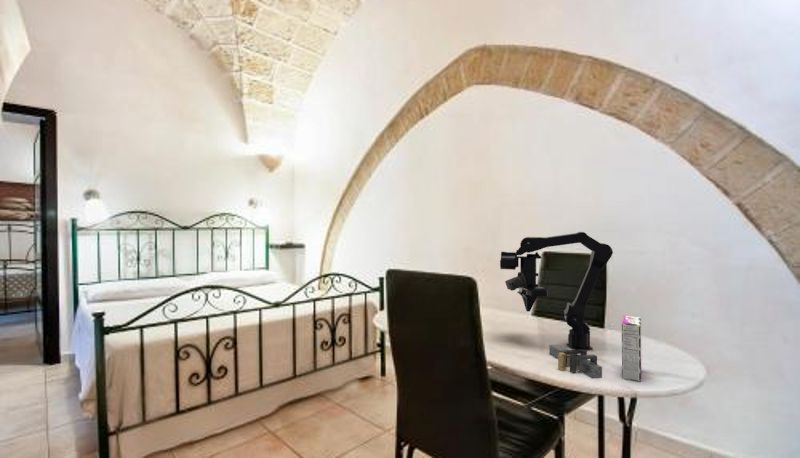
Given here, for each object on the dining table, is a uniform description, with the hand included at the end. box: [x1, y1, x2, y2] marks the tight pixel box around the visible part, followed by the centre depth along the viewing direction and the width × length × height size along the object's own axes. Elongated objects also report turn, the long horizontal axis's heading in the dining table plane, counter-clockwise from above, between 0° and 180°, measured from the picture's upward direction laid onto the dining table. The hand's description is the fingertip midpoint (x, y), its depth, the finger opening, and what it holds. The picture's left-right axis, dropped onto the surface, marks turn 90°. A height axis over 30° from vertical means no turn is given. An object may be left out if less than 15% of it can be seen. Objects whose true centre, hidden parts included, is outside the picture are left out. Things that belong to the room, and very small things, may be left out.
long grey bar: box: [548, 343, 603, 379], centre depth 125 cm, size 22×3×3 cm, turn 11°
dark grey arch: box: [569, 353, 598, 374], centre depth 119 cm, size 8×2×5 cm, turn 98°
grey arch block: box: [561, 349, 588, 368], centre depth 124 cm, size 8×2×5 cm, turn 98°
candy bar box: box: [621, 315, 642, 382], centre depth 117 cm, size 11×5×16 cm, turn 148°
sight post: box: [557, 352, 571, 371], centre depth 121 cm, size 4×2×5 cm, turn 98°
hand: (528, 311), depth 148 cm, fingers closed
